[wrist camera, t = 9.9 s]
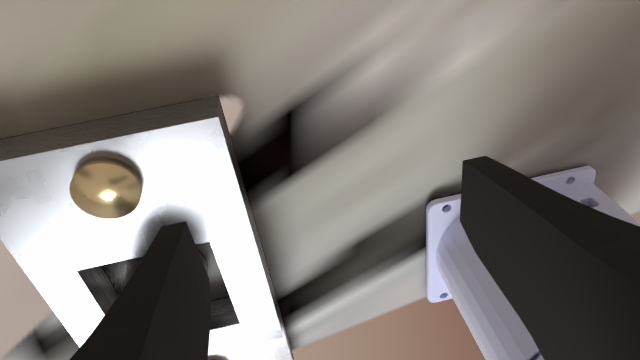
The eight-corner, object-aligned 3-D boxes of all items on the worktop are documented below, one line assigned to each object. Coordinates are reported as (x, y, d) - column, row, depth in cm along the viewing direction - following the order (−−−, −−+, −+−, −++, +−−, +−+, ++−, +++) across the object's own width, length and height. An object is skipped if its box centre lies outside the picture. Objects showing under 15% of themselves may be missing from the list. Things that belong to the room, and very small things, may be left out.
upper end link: (218, 95, 19) (218, 122, 17) (279, 309, 28) (284, 345, 25) (-26, 144, 19) (-56, 178, 17) (111, 349, 27) (101, 388, 25)
